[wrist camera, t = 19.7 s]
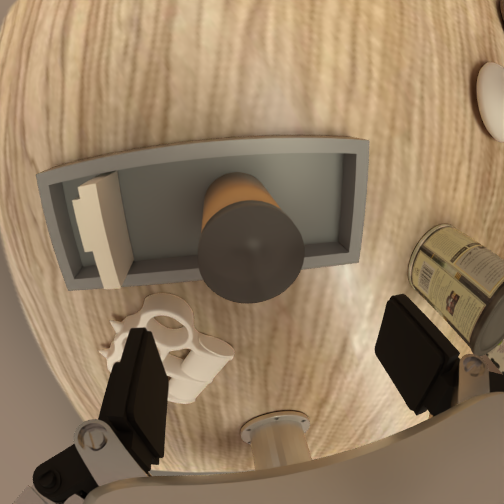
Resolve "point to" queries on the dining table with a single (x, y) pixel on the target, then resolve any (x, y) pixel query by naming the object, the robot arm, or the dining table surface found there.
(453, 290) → the coffee can
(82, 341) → the dining table surface
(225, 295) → the jar
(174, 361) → the knuckle duster
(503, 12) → the planter
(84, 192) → the plate
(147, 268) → the grey rectangular tray
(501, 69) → the flower in vase
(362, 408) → the dining table surface
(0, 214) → the dining table surface
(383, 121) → the dining table surface
